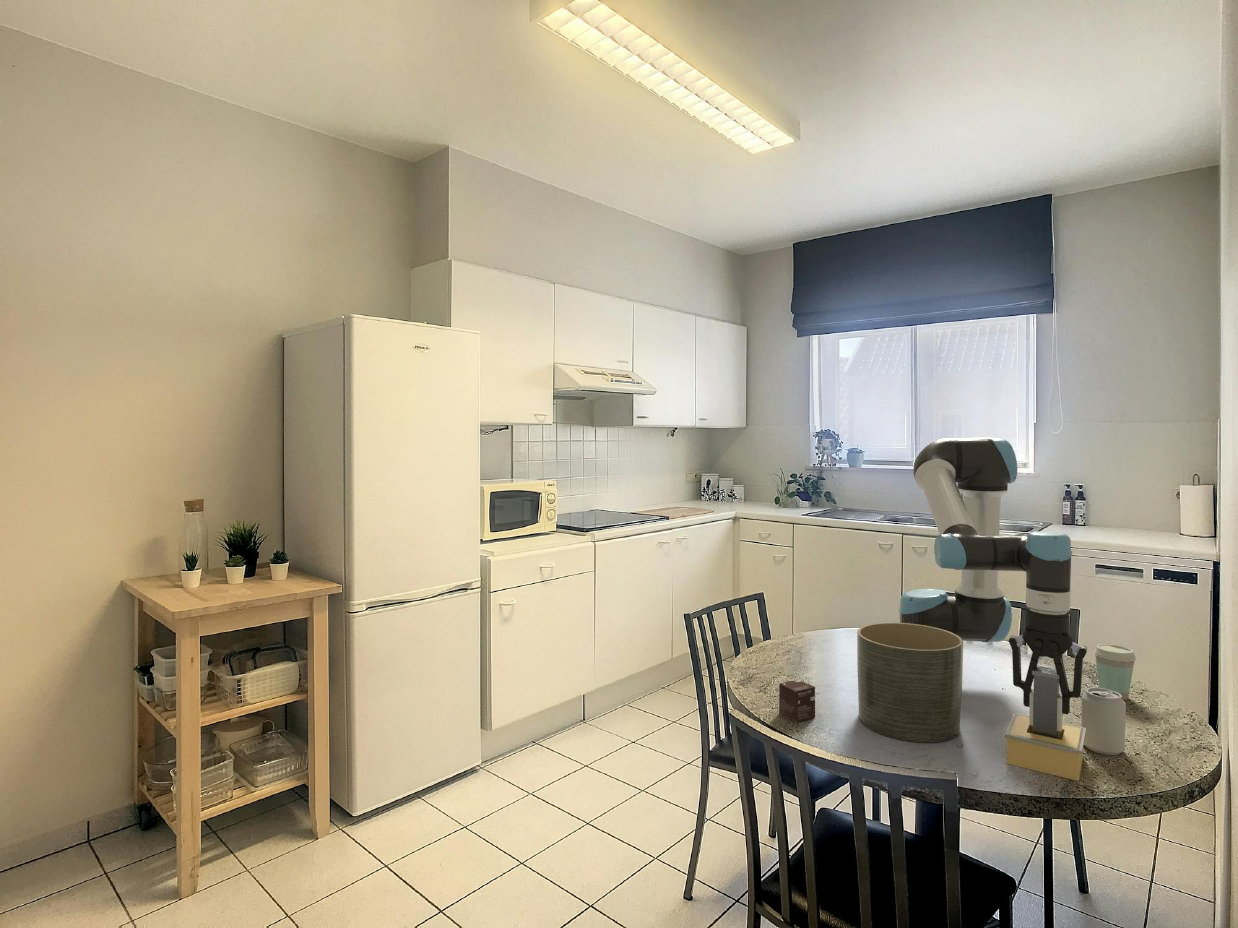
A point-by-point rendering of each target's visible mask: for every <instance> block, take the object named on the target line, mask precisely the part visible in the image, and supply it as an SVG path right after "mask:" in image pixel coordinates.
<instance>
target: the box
mask: <svg viewBox="0 0 1238 928" xmlns="http://www.w3.org/2000/svg"><path fill="white" fill-rule="evenodd" d="M778 690H779V691H778V698H779V699H778V713H779V715H782V716H783V717H785V718H787V719H790V720H791V721H792V722H795V723H799V722H803V721H807V720H811V719H814V718H815V717H816V686H813V685H811V684H809V683H807V682H804V681H802V680H801V679H800V680H799V679H795V680H789V681H788V680H787V681H785V682H781V683H779V687H778Z"/></svg>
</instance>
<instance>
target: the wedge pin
mask: <svg viewBox="0 0 1238 928" xmlns="http://www.w3.org/2000/svg"><path fill="white" fill-rule="evenodd" d="M1032 675H1034V679H1033V689H1034V697H1033V734H1037V735H1041V736H1046V737H1050V738H1055V739H1058V732H1059V731H1057V700H1058V695H1059V694H1060V685H1059V681H1058V679H1059V678H1060V674H1059V673H1057V672H1056V667H1052V666H1045V665H1039V664H1037V667H1036V670H1035V669H1032Z"/></svg>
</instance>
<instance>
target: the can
mask: <svg viewBox="0 0 1238 928" xmlns="http://www.w3.org/2000/svg"><path fill="white" fill-rule="evenodd" d="M1121 698H1122V695H1121V694H1119V693H1118V692H1115V691H1112V690H1109V689H1104V688H1099V687H1088V688H1086V689H1085V693H1084V694H1082V696H1081V720H1080V721H1081V722H1080V723H1081V724H1080V725H1081V726H1080V727H1084V728H1086V734H1085V739H1084V745H1083V746H1085V748H1087V749H1088V750H1090V751H1091V752H1094V753H1097V754H1099V755H1100V754H1101V755H1106V756H1118V755H1120V753H1123V752H1124V751H1126V750H1125V749H1126V719H1127V718H1126V717H1127V716H1126V715H1127V714H1126V713H1127V710H1126V709H1127V707H1126V706H1127V703H1126V702H1125V700H1122V699H1121Z"/></svg>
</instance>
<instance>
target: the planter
mask: <svg viewBox="0 0 1238 928" xmlns="http://www.w3.org/2000/svg"><path fill="white" fill-rule="evenodd" d="M856 634H857V635H856V637H857V638H856V641H857V644H856V649H857V650H856V651H857V652H856V653H857V654H856V655H857V656H856V657H857V662H856V665H857V691H858V692H857V694H858V696H857V697H858V698H857V699H858V717H859V721H860V722H861V723H862V724H863V725H864V726H865V727H866V728H867V729H869V730H871V731H873V732H875V733H876V734H880V735H883V736H885V737H888V738H892V739H894V740H895V739H896V740H901V741H904V742H913V743H923V744H924V743H927V744H928V743H930V744H931V743H932V744H933V743H942V742H947V741H950V740H952V739H955V738H956V737H958V736H959V734H960V731H961V713H962V698H963V697H962V695H963V693H962V692H963V674H964V672H963V669H964V668H963V667H964V664H963V663H964V641H963V640H962V639H961V638H960V637H959V636H958V635H956V634H954V633H951V632H949V631H946V630H943V629H939V628H935V627H930V626H924V625H918V624H908V623H900V622H879V623H878V622H877V623H870V624H869V623H868V624H866V625H863V626H861V627H859V628H858V629H857V631H856Z"/></svg>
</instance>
